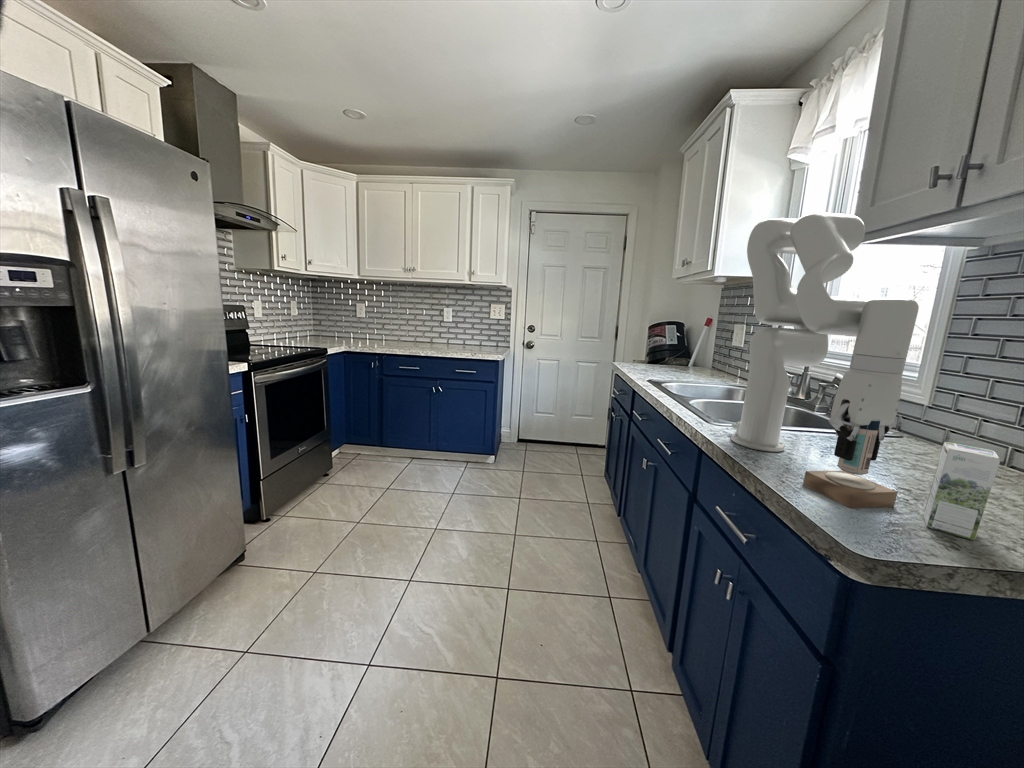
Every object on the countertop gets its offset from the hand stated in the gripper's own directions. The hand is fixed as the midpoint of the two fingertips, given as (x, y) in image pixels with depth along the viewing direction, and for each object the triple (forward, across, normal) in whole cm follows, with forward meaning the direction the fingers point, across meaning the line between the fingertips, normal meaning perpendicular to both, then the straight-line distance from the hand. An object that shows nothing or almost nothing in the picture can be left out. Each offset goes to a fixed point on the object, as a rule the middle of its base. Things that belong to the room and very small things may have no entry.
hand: (854, 457), depth 79 cm
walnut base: (+8, 0, 0) cm, 8 cm away
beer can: (+3, 0, 0) cm, 3 cm away
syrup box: (+8, -6, +13) cm, 16 cm away
